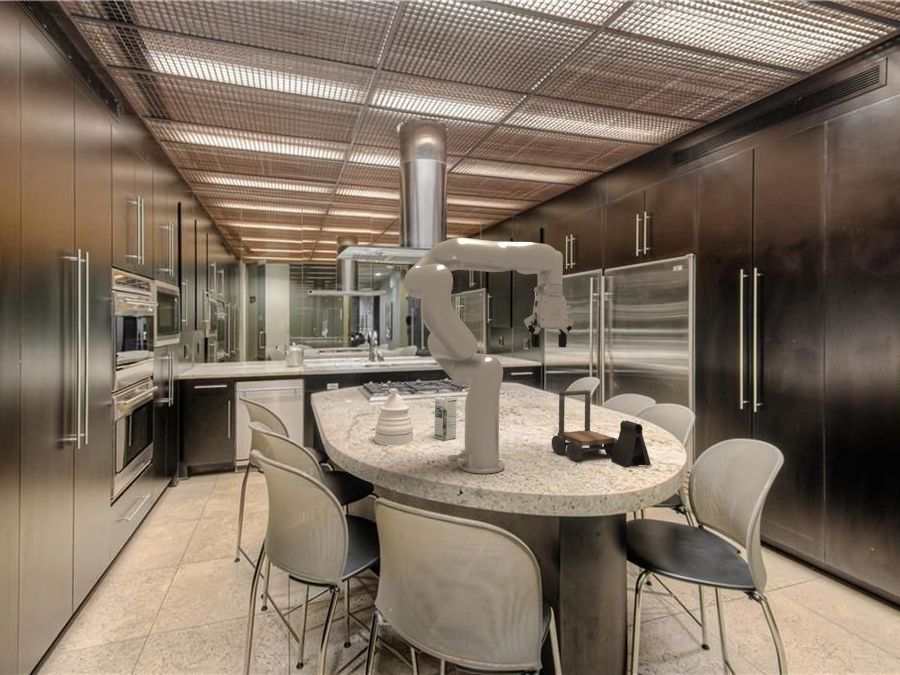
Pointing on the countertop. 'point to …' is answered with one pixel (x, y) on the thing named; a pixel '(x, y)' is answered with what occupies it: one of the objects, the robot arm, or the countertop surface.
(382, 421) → the honey pot
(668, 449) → the countertop surface
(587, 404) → the trolley
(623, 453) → the dark brown a-frame stand
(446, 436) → the syrup box
